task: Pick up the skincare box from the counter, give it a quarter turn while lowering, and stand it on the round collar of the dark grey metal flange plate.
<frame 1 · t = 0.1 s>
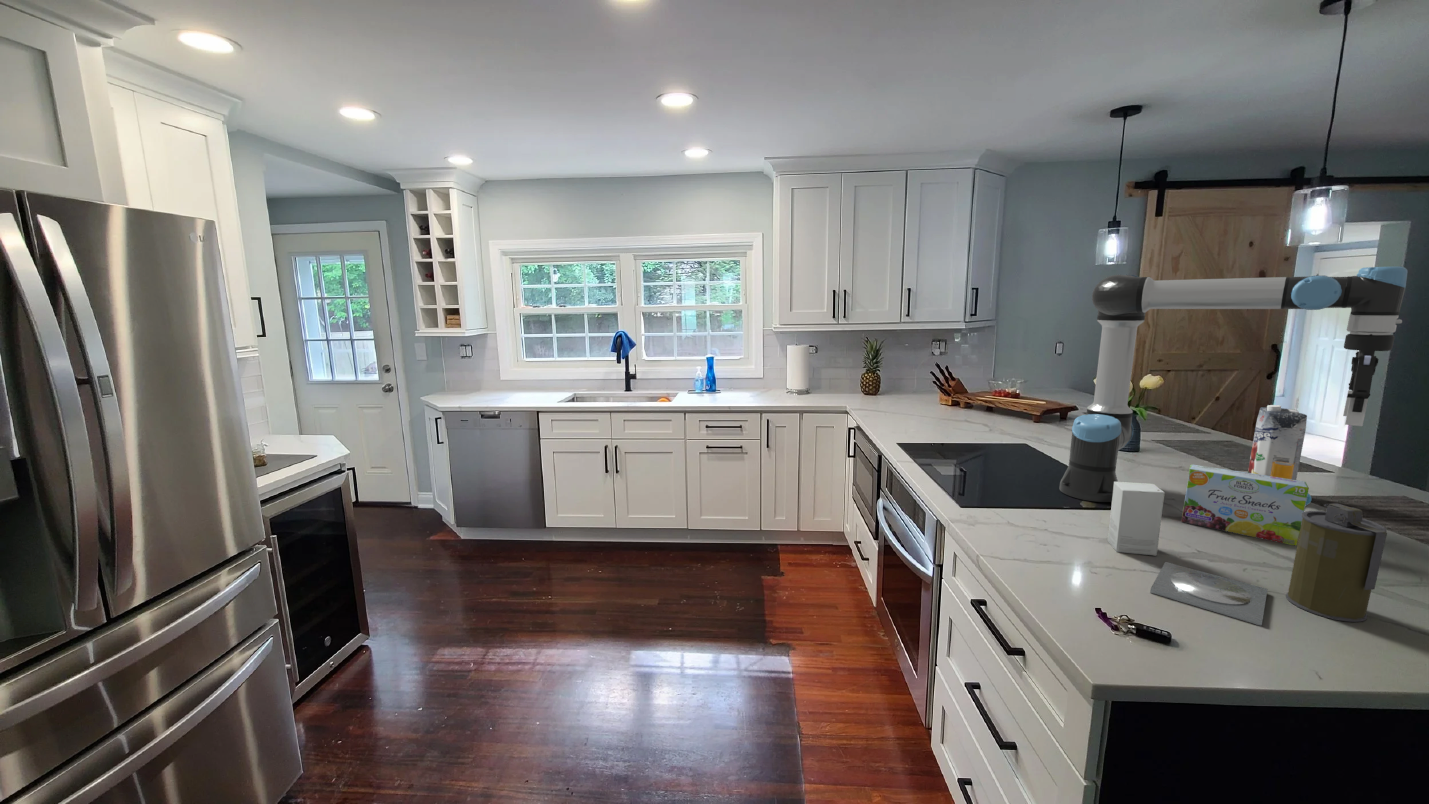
hand: (1352, 420, 134), 28 cm above the countertop, tool pointing down, fingers open, 13 cm apart
juice carton: (1267, 496, 162), on the countertop
snack box: (1236, 531, 139), on the countertop
canister: (1325, 608, 104), on the countertop
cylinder: (1273, 518, 146), on the countertop
skincare box: (1130, 549, 129), on the countertop
flange plate: (1208, 593, 110), on the countertop
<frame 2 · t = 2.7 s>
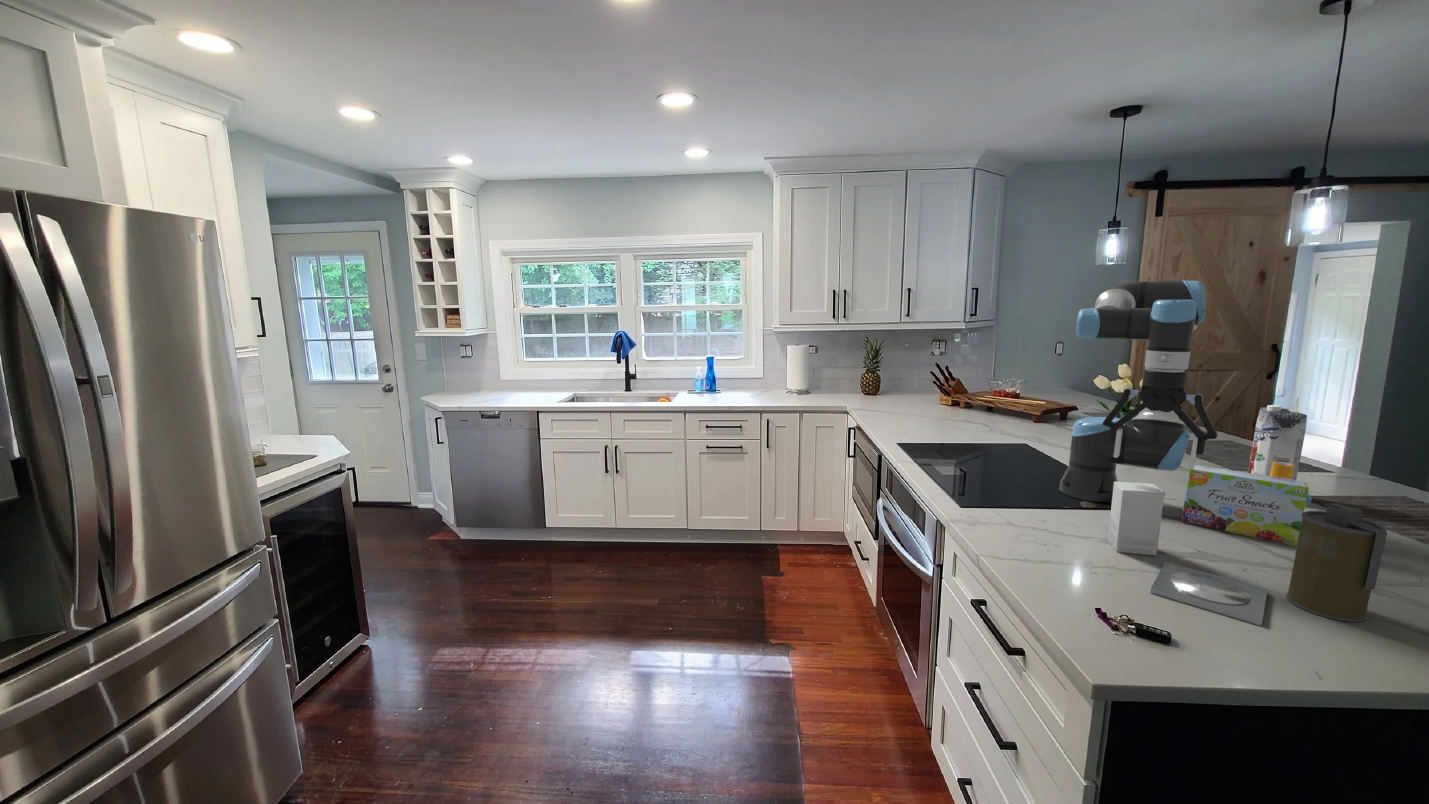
hand: (1152, 462, 126), 21 cm above the countertop, tool pointing down, fingers open, 13 cm apart
nothing on the countertop moved.
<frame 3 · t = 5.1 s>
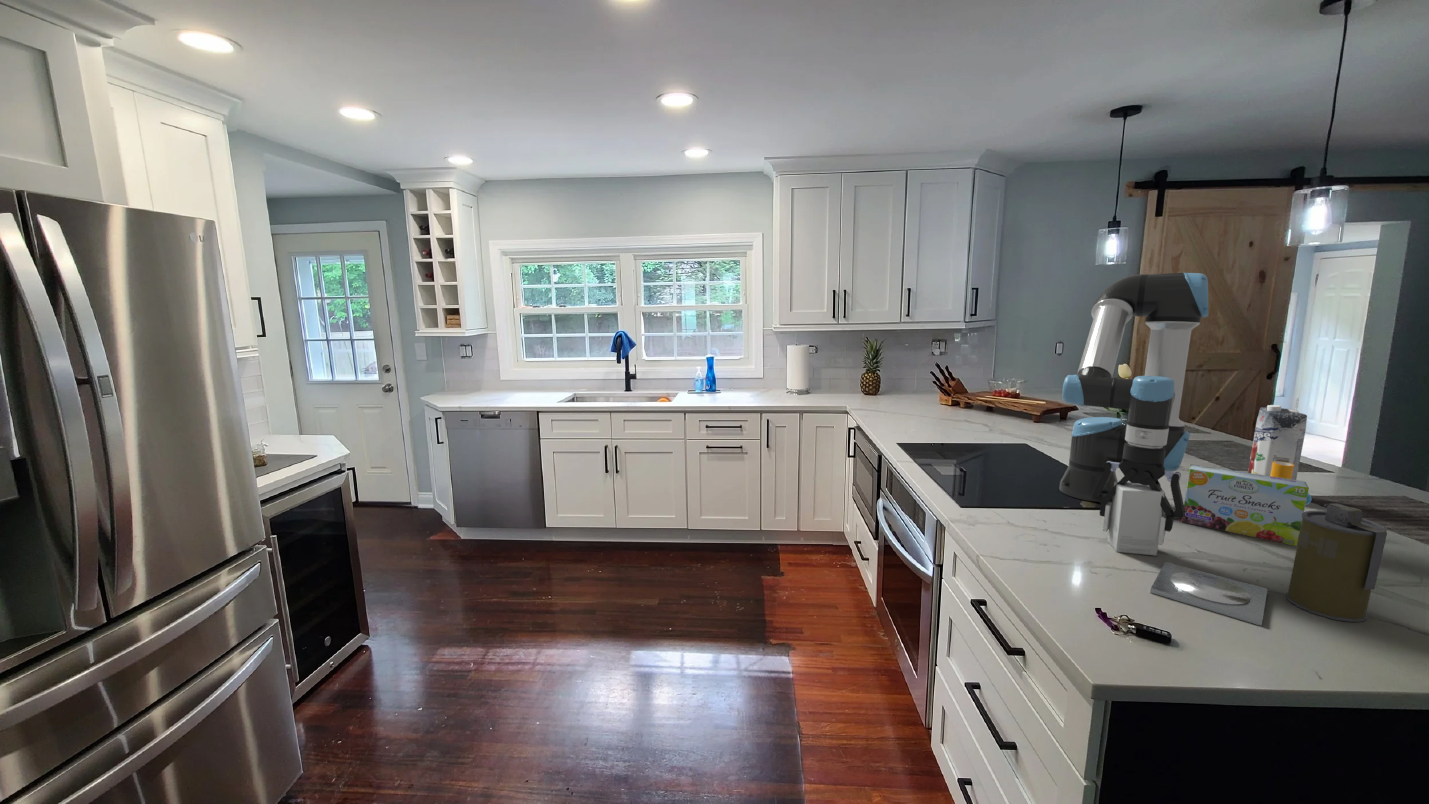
hand: (1132, 536, 129), 3 cm above the countertop, tool pointing down, fingers closed on skincare box, 10 cm apart
skincare box: (1130, 549, 129), on the countertop, touching gripper
everything else where it was.
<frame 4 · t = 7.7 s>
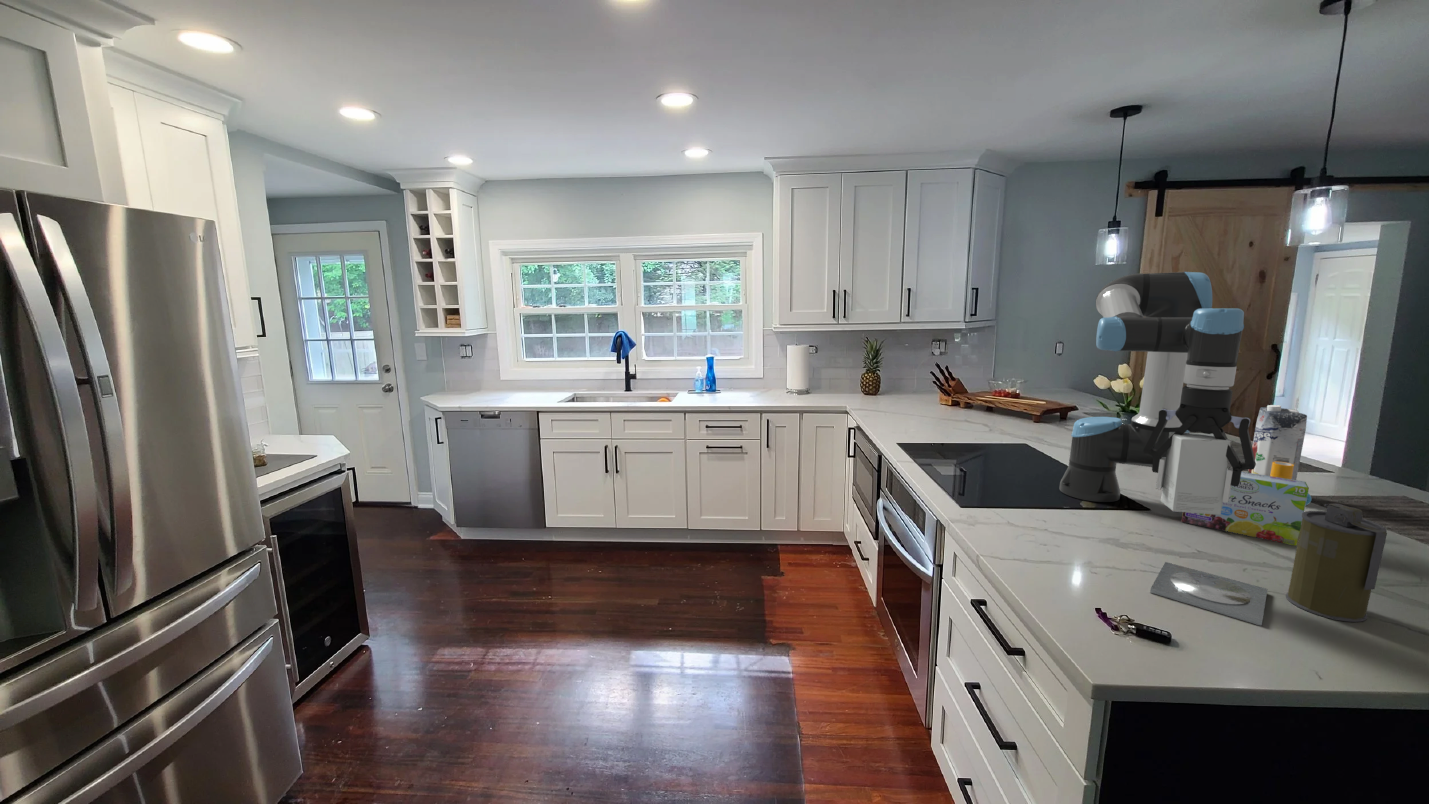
hand: (1191, 494, 113), 19 cm above the countertop, tool pointing down, fingers closed on skincare box, 10 cm apart
skincare box: (1189, 509, 113), point 15 cm above the countertop, touching gripper
everything else where it was.
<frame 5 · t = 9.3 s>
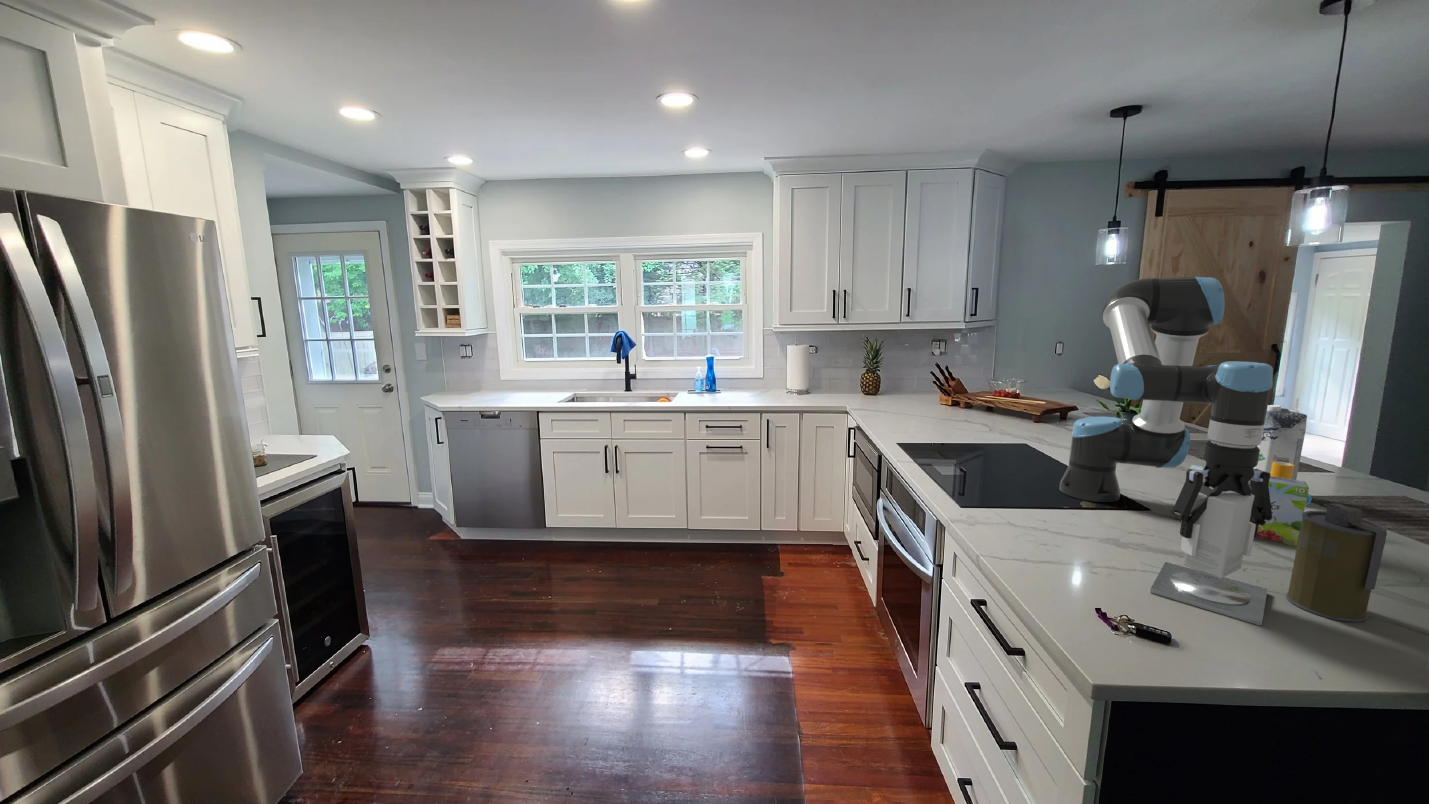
hand: (1214, 552, 108), 9 cm above the countertop, tool pointing down, fingers closed on skincare box, 10 cm apart
skincare box: (1212, 568, 109), point 5 cm above the countertop, touching gripper
everything else where it was.
when the fingers open (6 cm above the countertop, at t = 10.5 s): skincare box drops 1 cm, resting on flange plate.
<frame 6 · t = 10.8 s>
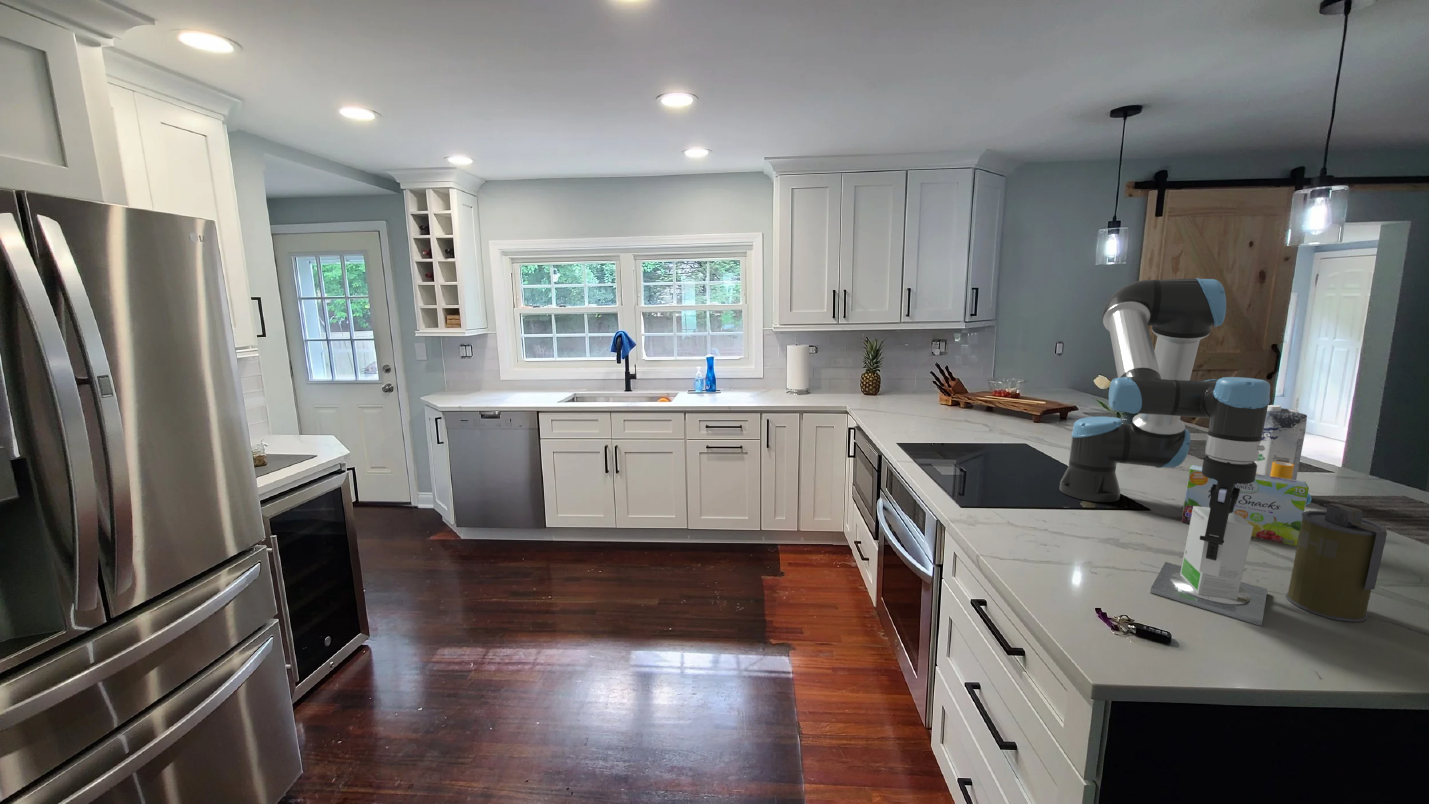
hand: (1213, 562, 109), 7 cm above the countertop, tool pointing down, fingers open, 13 cm apart
skincare box: (1208, 588, 109), point 1 cm above the countertop, touching flange plate
everything else where it was.
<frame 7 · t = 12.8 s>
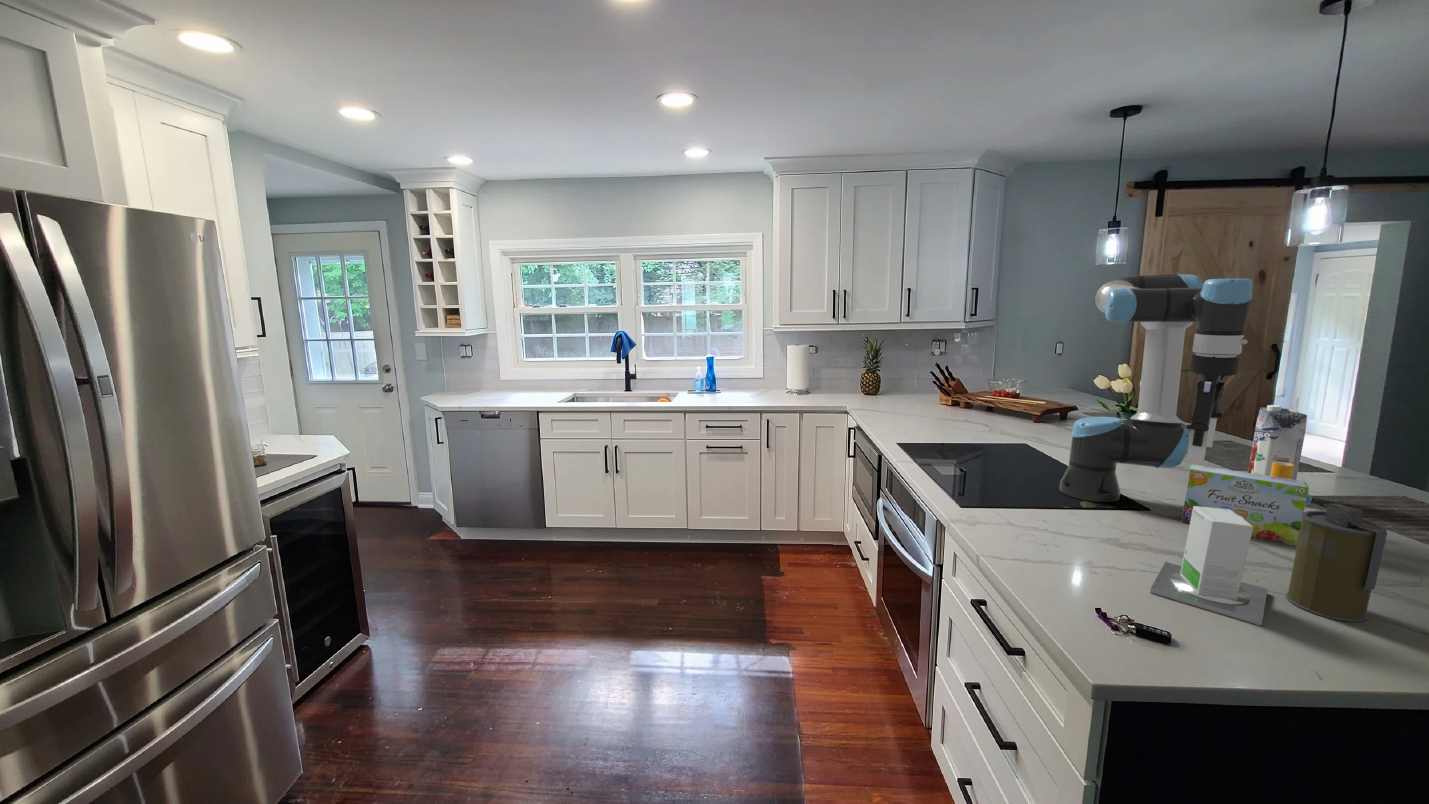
hand: (1199, 453, 118), 25 cm above the countertop, tool pointing down, fingers open, 13 cm apart
nothing on the countertop moved.
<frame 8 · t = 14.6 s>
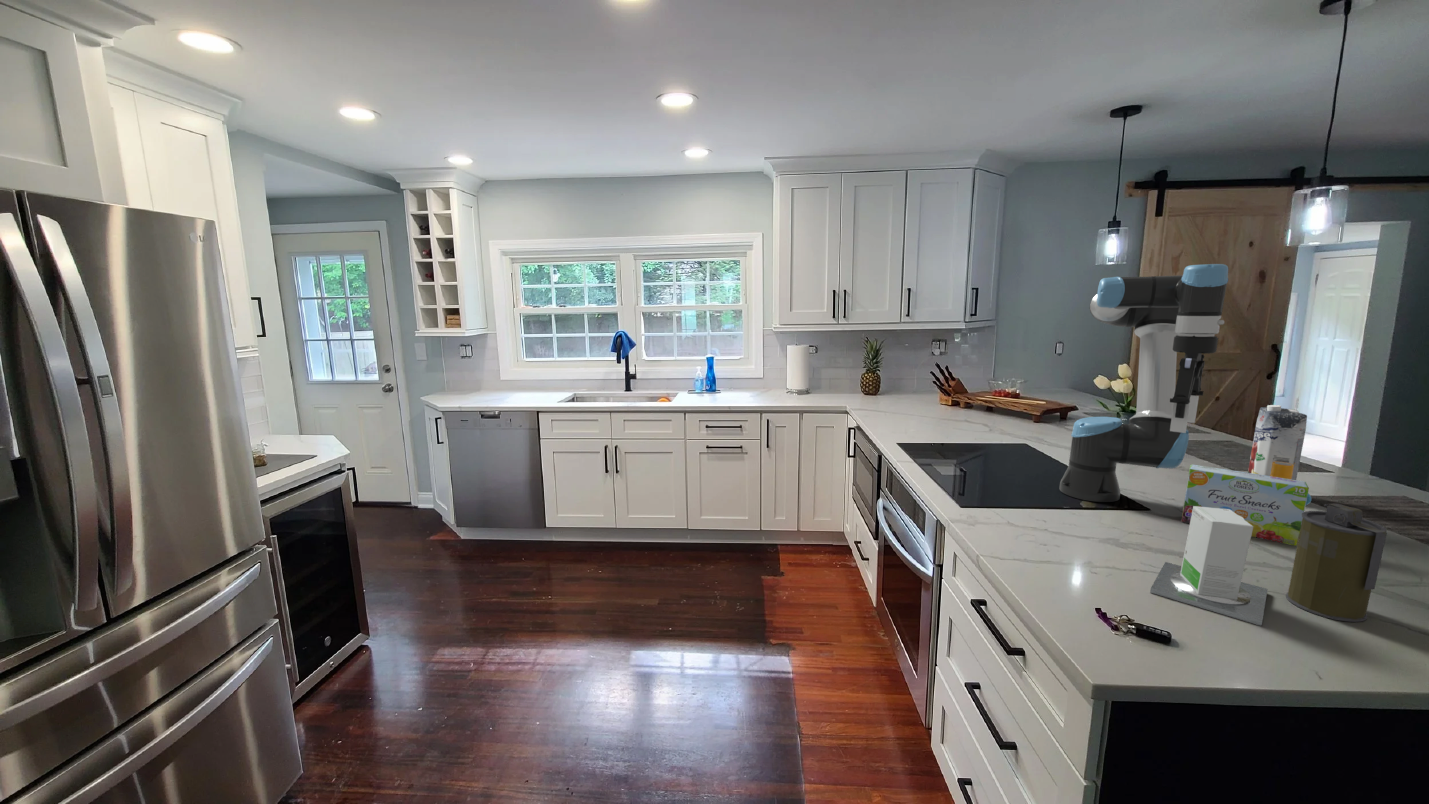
hand: (1182, 426, 127), 29 cm above the countertop, tool pointing down, fingers open, 13 cm apart
nothing on the countertop moved.
at the end: skincare box inside the target area on the flange plate (0.4 cm from its centre), point 1.1 cm above the flange plate's base; skincare box tilted 0°; the gripper is holding nothing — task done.
